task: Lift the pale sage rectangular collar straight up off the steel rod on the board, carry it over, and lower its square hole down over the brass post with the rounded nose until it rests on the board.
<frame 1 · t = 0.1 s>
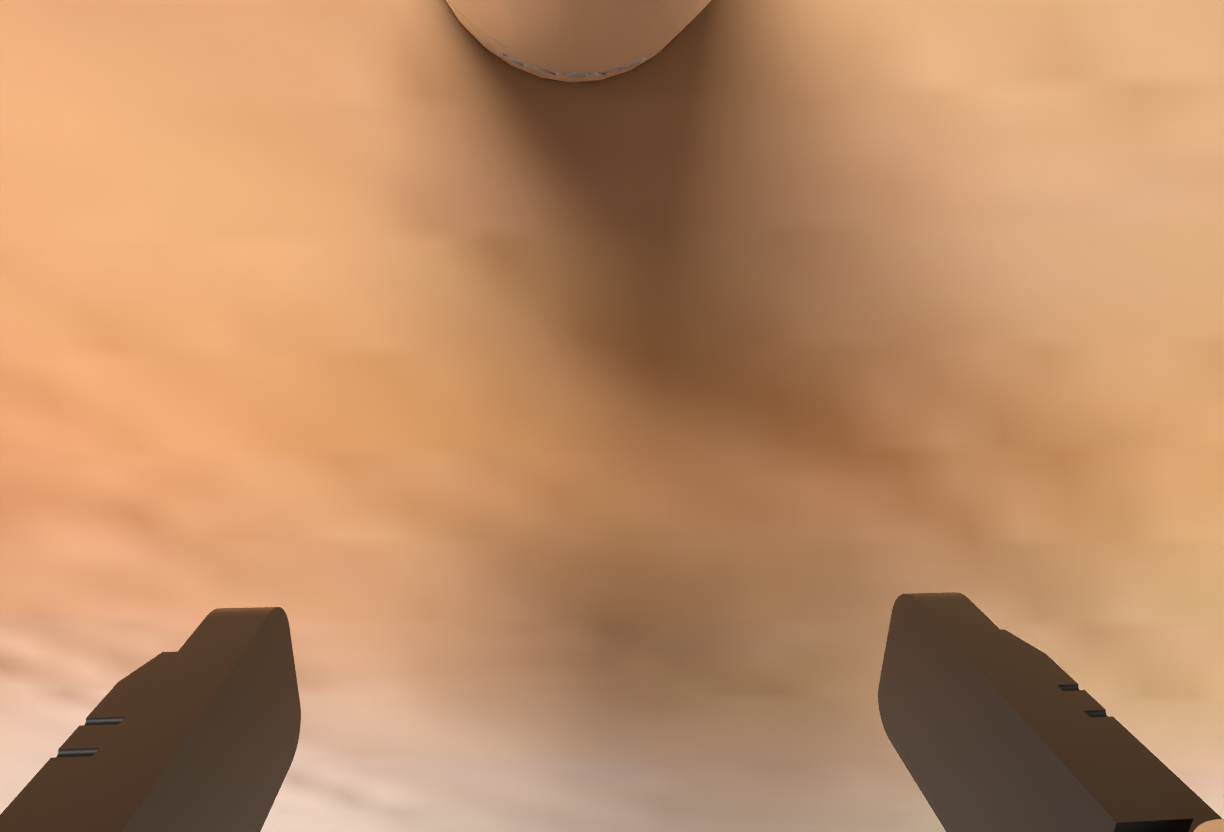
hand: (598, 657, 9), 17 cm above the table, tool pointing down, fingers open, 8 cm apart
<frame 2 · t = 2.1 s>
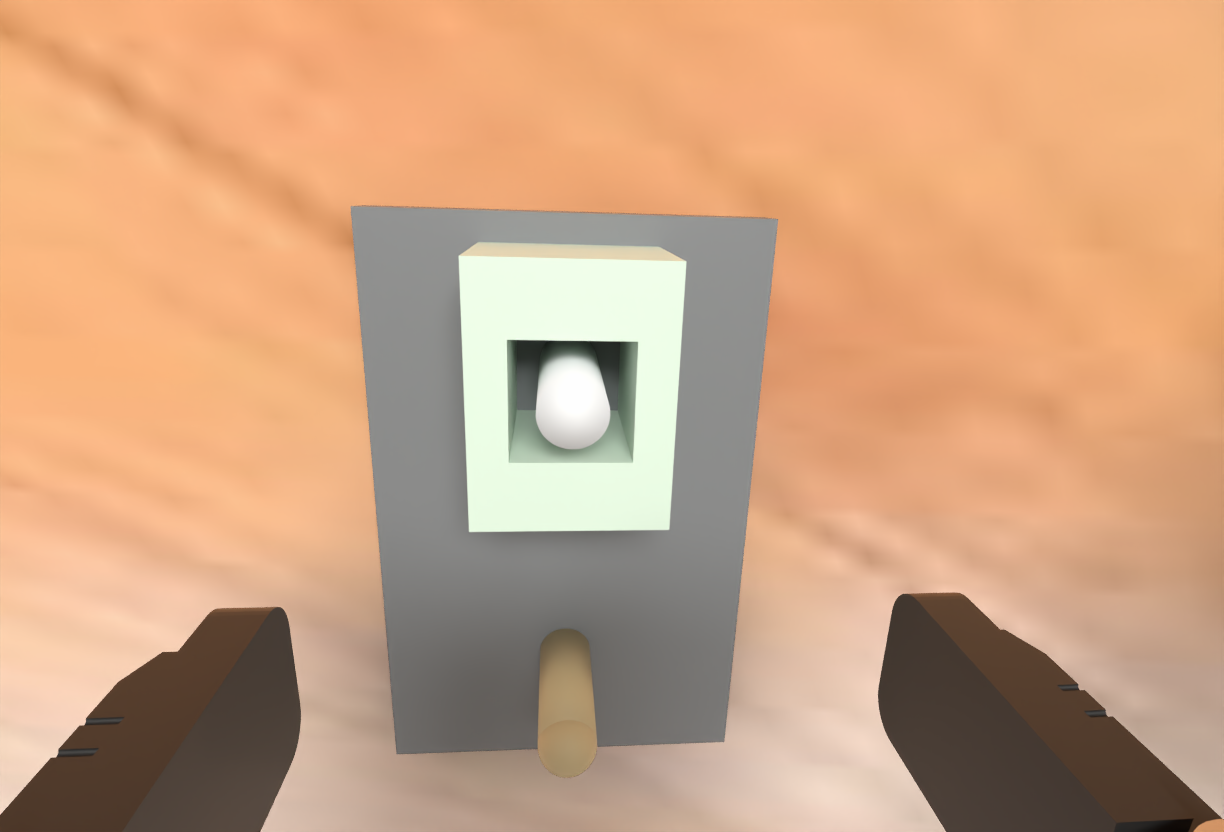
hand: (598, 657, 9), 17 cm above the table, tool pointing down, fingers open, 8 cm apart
board: (565, 498, 27), on the table
collar: (568, 361, 24), point 1 cm above the table, touching board
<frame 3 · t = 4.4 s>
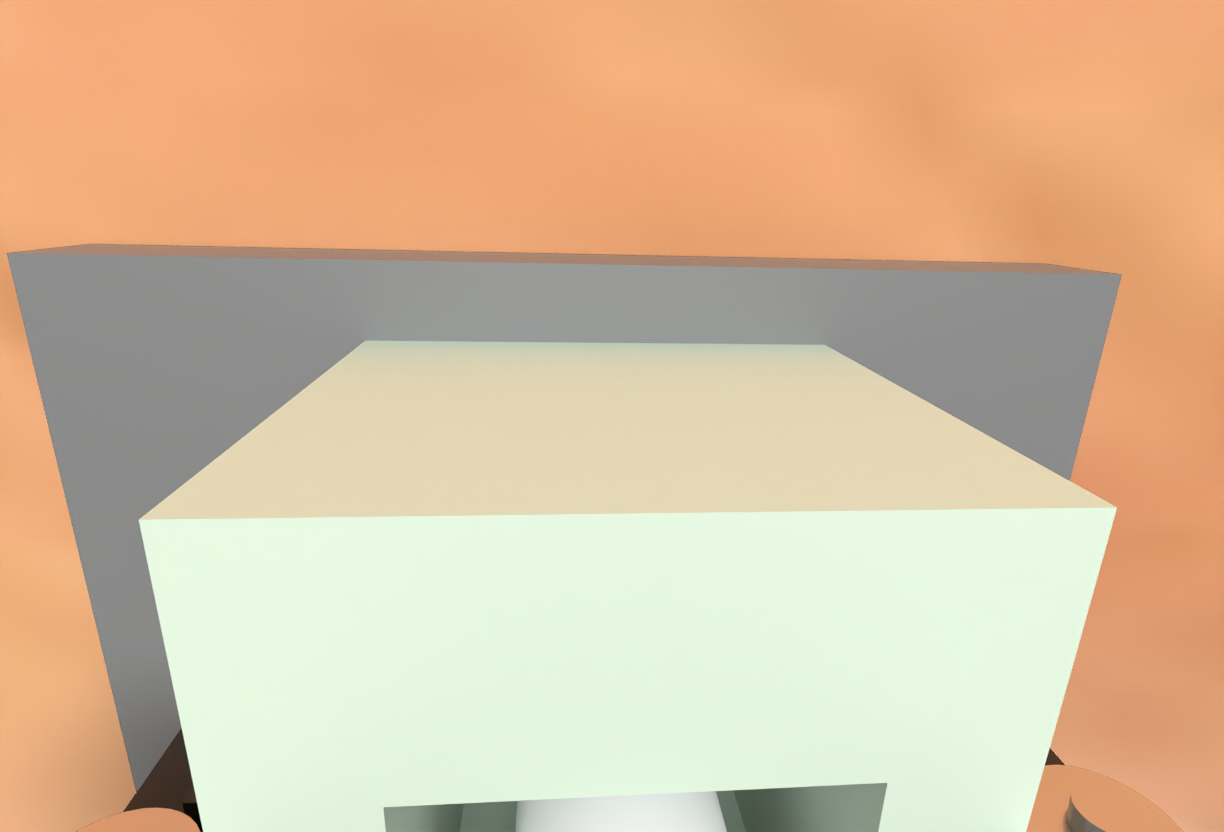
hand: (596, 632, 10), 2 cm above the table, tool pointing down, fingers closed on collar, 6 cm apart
board: (585, 828, 13), on the table
collar: (595, 607, 10), point 2 cm above the table, touching board, gripper
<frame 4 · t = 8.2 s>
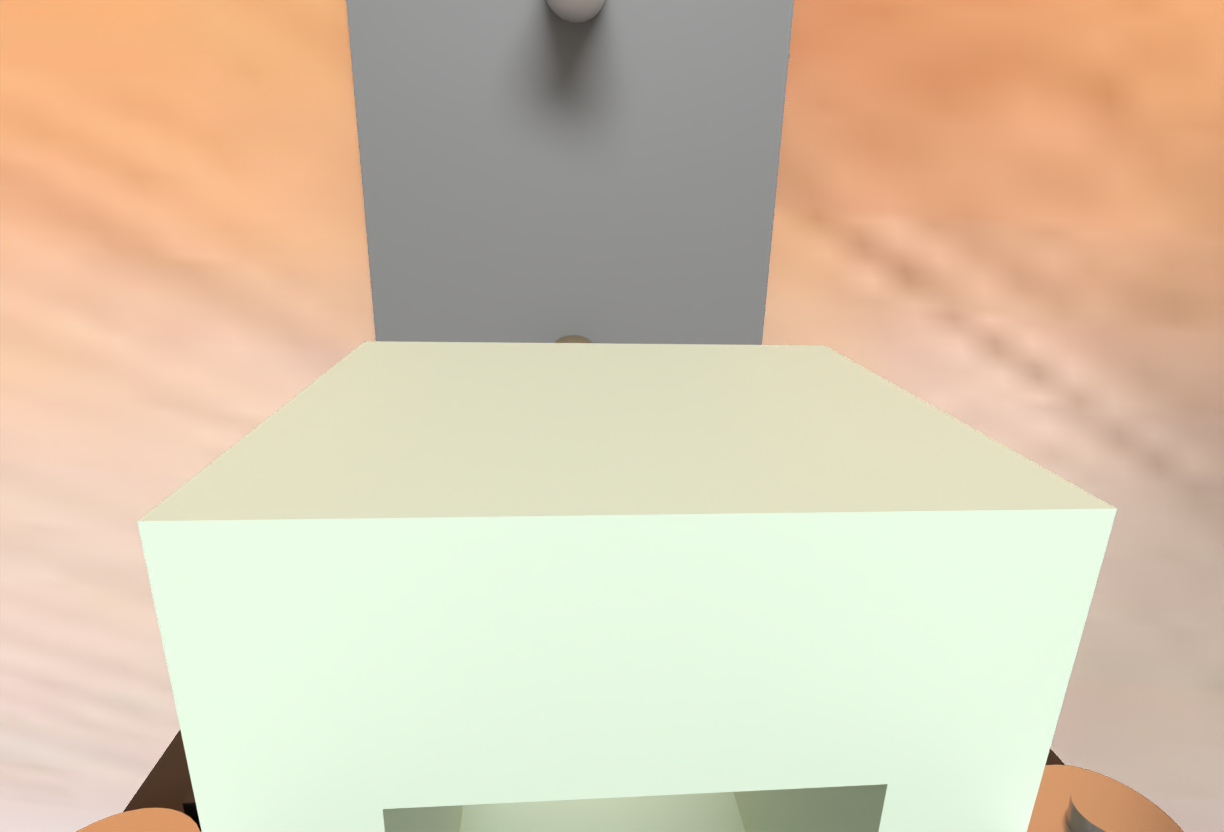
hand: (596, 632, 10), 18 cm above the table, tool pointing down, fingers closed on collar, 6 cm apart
board: (573, 189, 25), on the table
collar: (595, 608, 10), point 17 cm above the table, touching gripper
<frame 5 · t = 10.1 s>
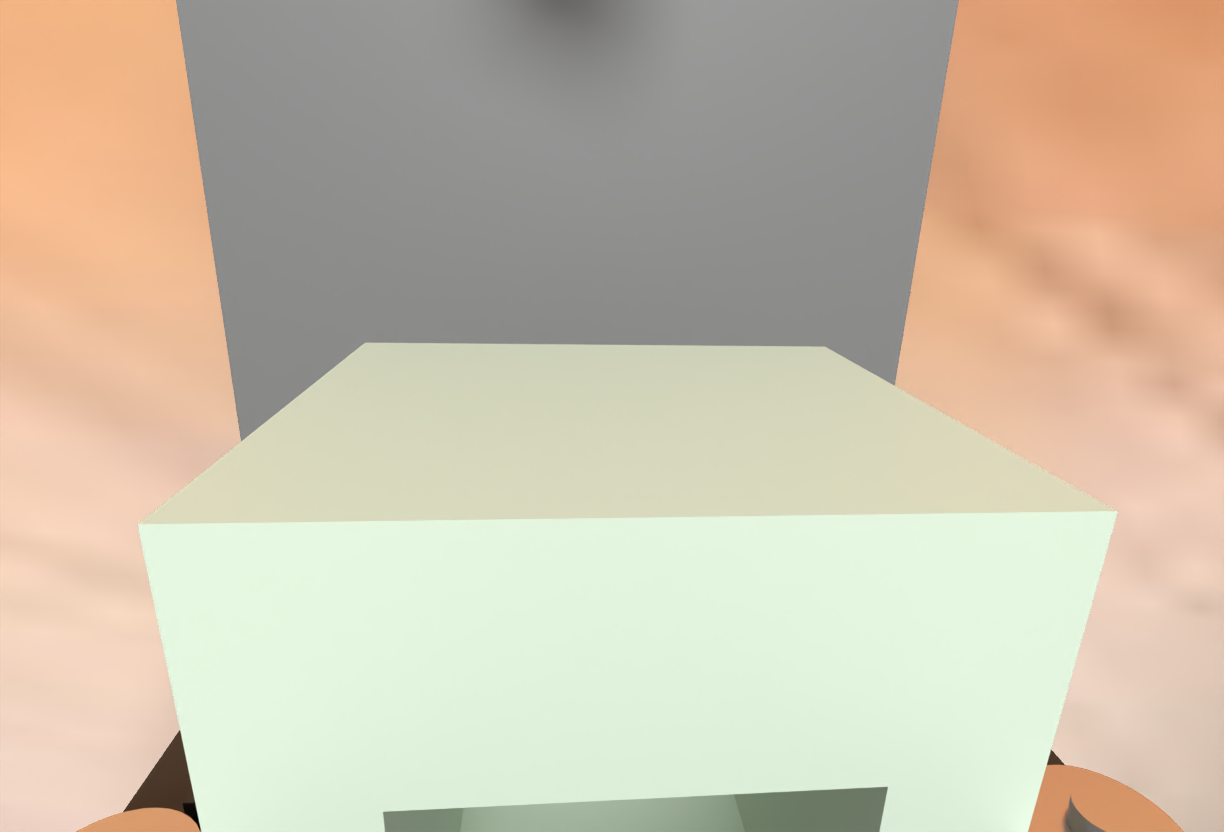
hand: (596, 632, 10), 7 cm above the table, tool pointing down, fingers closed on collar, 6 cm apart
board: (578, 174, 15), on the table
collar: (595, 609, 10), point 7 cm above the table, touching gripper
when the fingers open (3 cm above the table, at t = 11.9 s): collar stays where it is, resting on board.
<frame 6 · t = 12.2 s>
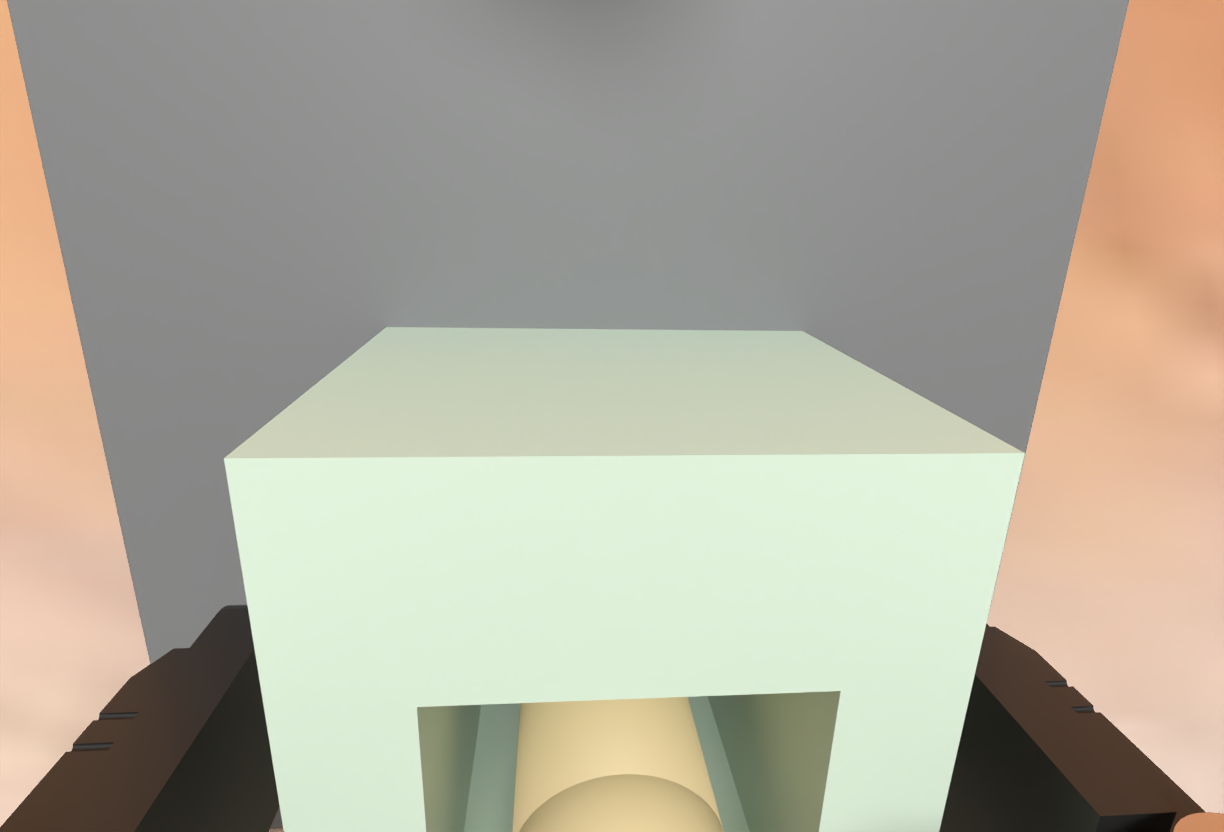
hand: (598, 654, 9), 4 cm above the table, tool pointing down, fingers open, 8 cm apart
board: (591, 183, 11), on the table
collar: (595, 573, 11), point 1 cm above the table, touching board
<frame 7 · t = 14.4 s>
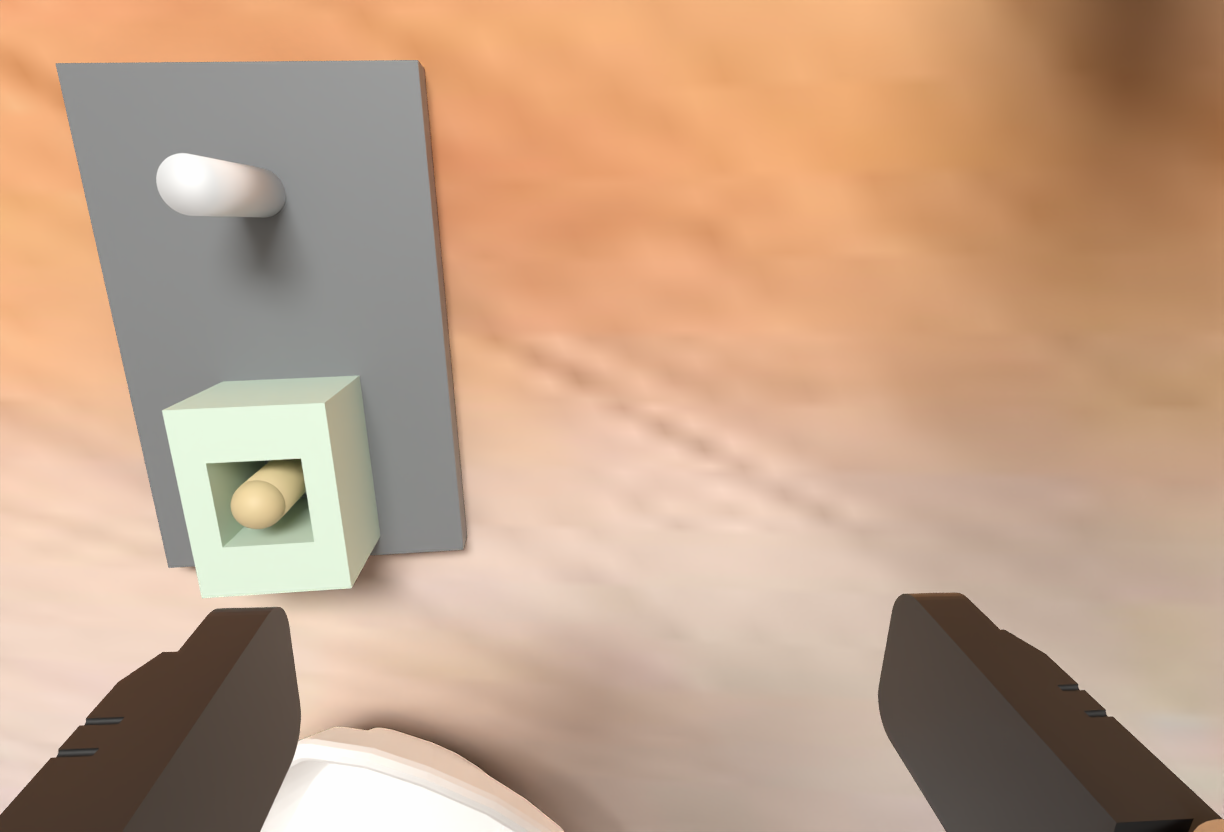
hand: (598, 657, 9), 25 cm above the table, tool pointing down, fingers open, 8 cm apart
board: (295, 329, 32), on the table
collar: (304, 461, 32), point 1 cm above the table, touching board
bowl: (405, 805, 40), on the table
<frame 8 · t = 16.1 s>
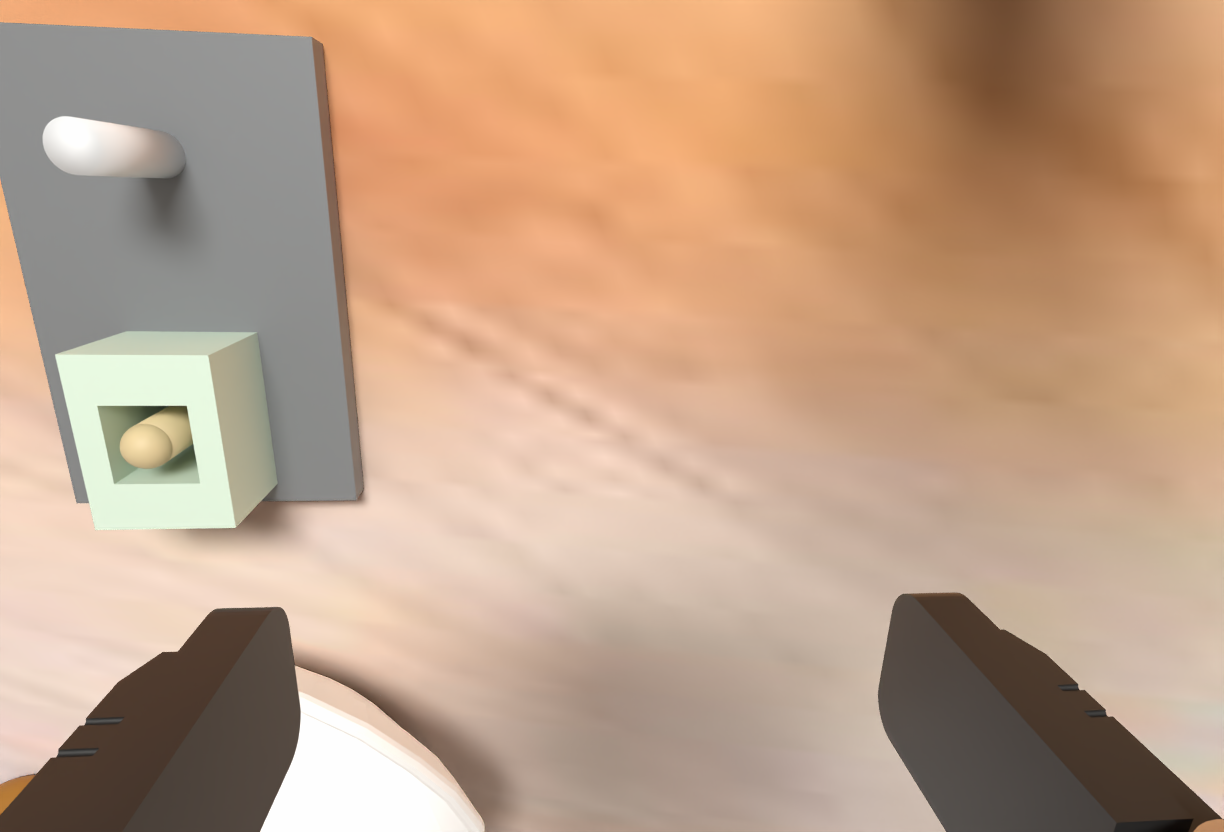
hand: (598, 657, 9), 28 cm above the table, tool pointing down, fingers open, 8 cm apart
ornamental finial: (53, 811, 43), on the table
board: (199, 286, 34), on the table
collar: (205, 410, 34), point 1 cm above the table, touching board
bowl: (306, 736, 43), on the table
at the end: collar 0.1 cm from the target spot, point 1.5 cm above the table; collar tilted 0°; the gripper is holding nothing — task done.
